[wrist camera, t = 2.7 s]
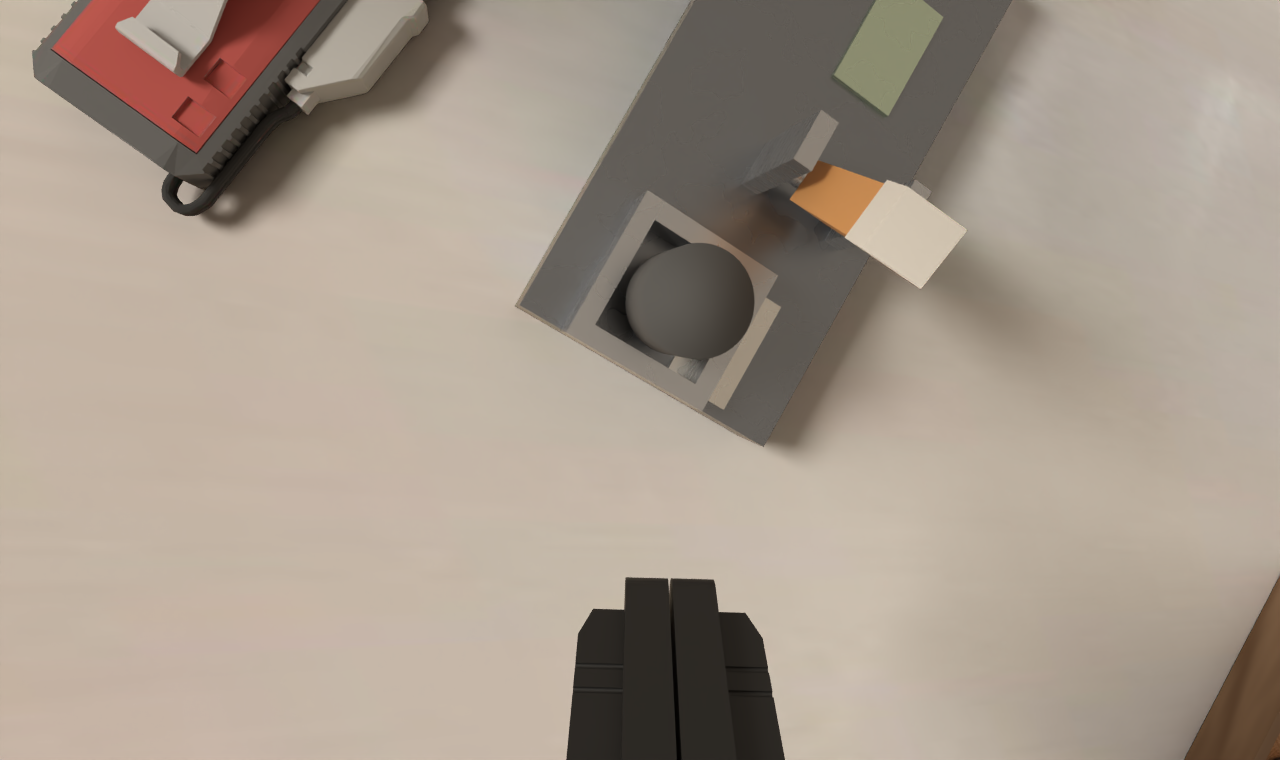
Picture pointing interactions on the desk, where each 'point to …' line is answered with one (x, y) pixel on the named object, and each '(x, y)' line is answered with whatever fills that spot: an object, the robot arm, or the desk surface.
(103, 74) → the walkie-talkie
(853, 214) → the breaker lever
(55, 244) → the desk surface
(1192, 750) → the pen tray
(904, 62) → the breaker plate
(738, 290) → the button
